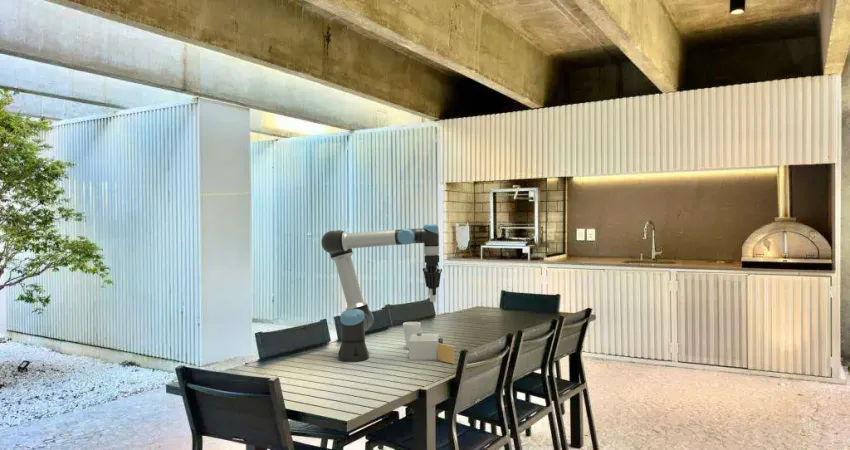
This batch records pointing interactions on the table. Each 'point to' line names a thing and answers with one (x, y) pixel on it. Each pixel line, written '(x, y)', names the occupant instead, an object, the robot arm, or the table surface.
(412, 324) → the foam cup
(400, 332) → the table surface
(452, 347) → the door
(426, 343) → the housing
